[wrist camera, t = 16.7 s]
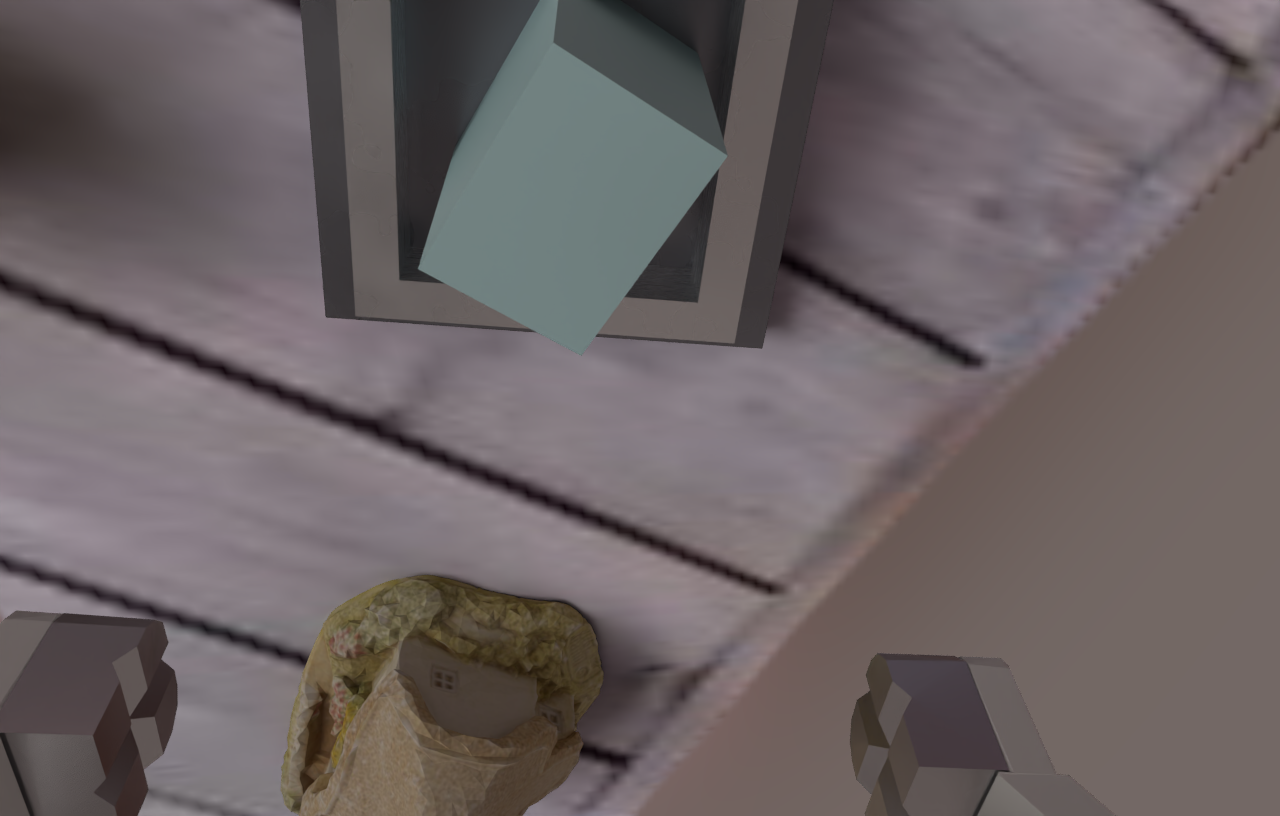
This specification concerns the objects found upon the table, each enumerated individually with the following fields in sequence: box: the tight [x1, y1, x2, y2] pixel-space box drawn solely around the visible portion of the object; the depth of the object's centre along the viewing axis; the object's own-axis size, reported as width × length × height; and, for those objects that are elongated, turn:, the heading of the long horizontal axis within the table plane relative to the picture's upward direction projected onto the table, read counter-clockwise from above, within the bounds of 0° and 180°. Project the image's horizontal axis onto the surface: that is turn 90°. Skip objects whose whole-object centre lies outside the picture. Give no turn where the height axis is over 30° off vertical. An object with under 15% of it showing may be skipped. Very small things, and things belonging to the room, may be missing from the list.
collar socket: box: [300, 0, 834, 349], centre depth 26 cm, size 13×13×3 cm
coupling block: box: [418, 0, 728, 355], centre depth 23 cm, size 4×6×7 cm
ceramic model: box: [281, 575, 604, 816], centre depth 37 cm, size 14×11×10 cm
